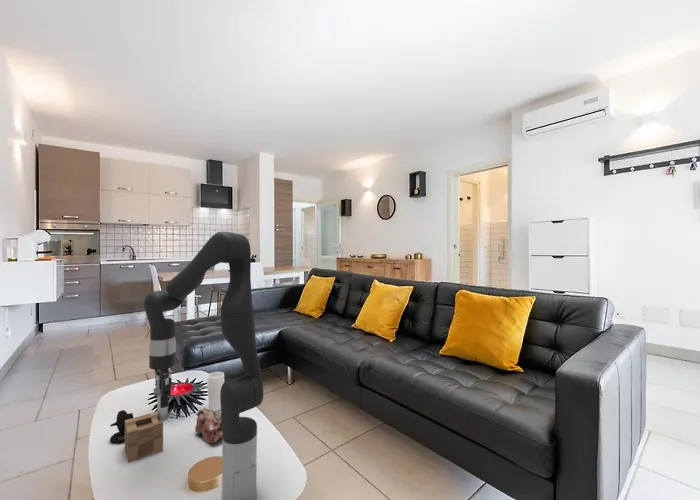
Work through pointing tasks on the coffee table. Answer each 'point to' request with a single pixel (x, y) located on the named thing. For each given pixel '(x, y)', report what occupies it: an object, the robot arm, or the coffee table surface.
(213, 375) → the drinking glass
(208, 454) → the coffee table surface
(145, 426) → the block
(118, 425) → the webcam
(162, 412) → the pin
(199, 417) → the rock
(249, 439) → the robot arm
